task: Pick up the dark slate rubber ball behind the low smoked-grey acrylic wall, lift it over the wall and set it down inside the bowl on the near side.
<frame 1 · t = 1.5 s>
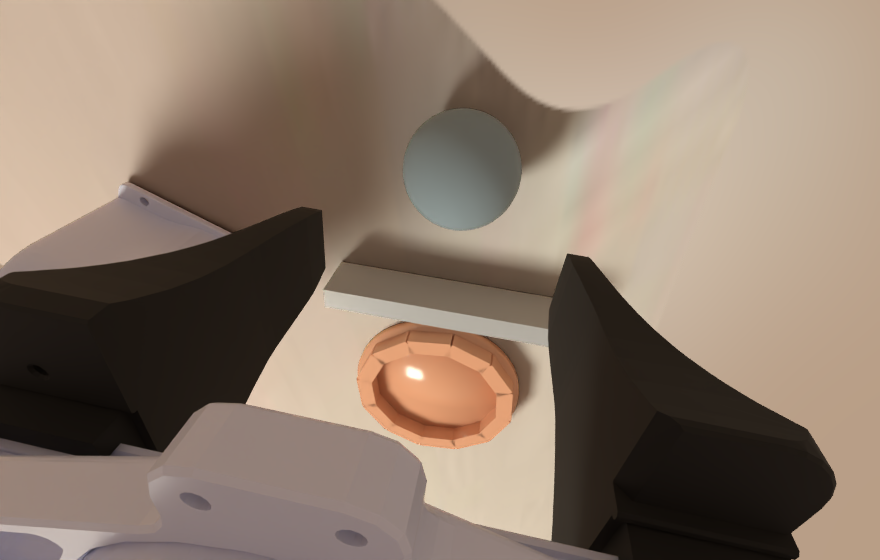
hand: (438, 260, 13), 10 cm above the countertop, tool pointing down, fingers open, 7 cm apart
bowl: (437, 381, 30), on the countertop
acrylic wall: (450, 288, 25), on the countertop
ball: (461, 171, 18), point 2 cm above the countertop
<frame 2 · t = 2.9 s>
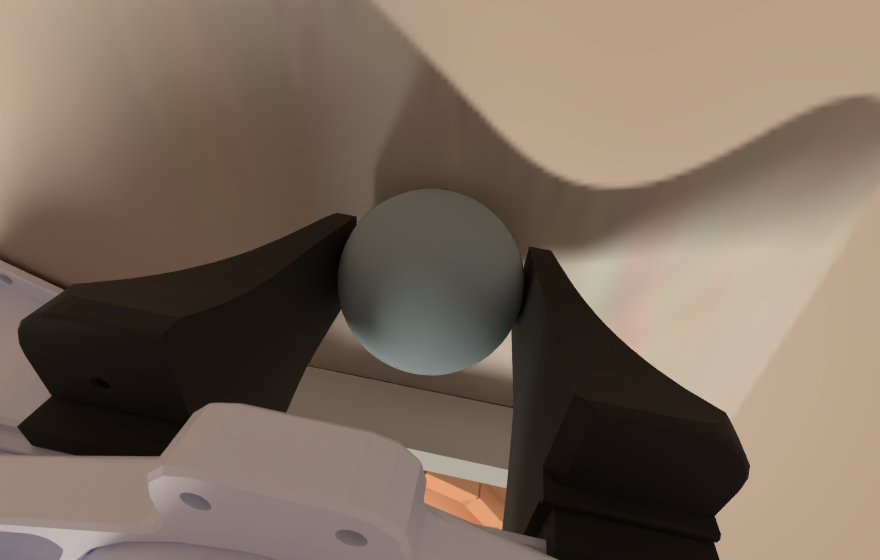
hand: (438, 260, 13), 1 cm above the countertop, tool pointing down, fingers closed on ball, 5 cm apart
bowl: (411, 495, 23), on the countertop
acrylic wall: (424, 399, 19), on the countertop
ball: (431, 281, 12), point 2 cm above the countertop, touching gripper
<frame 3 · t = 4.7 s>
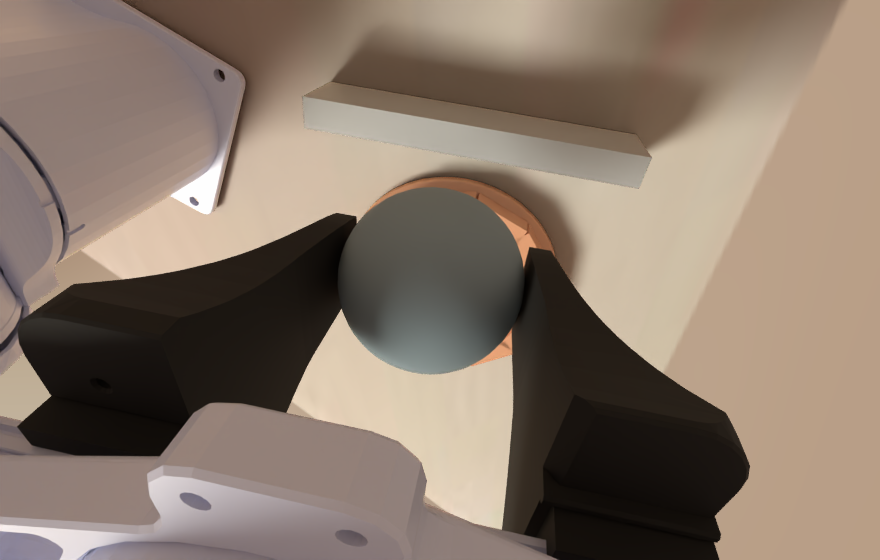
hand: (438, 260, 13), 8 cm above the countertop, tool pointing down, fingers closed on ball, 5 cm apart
bowl: (450, 274, 23), on the countertop
acrylic wall: (477, 122, 18), on the countertop
ball: (431, 280, 12), point 9 cm above the countertop, touching gripper
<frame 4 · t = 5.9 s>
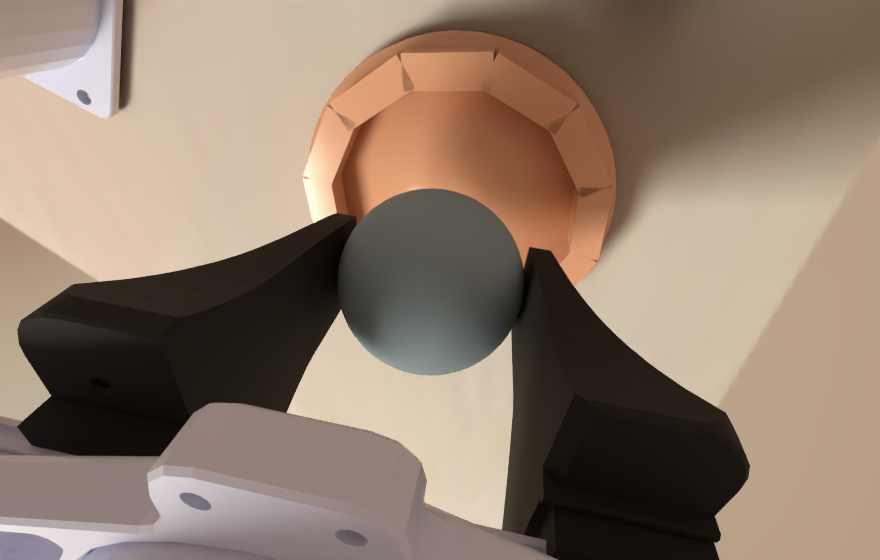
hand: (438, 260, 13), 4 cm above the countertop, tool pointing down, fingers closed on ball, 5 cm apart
bowl: (456, 199, 16), on the countertop
ball: (431, 281, 12), point 5 cm above the countertop, touching gripper
when the fingers open (3 cm above the countertop, at t = 6.7 s): ball stays where it is, resting on bowl.
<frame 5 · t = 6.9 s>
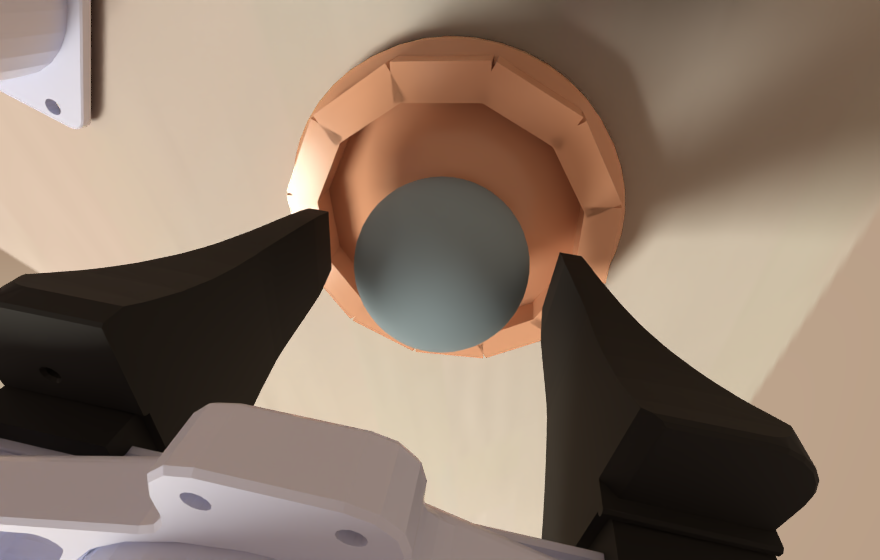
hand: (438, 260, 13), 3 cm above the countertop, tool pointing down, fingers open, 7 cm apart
bowl: (452, 216, 15), on the countertop
ball: (441, 265, 13), point 3 cm above the countertop, touching bowl
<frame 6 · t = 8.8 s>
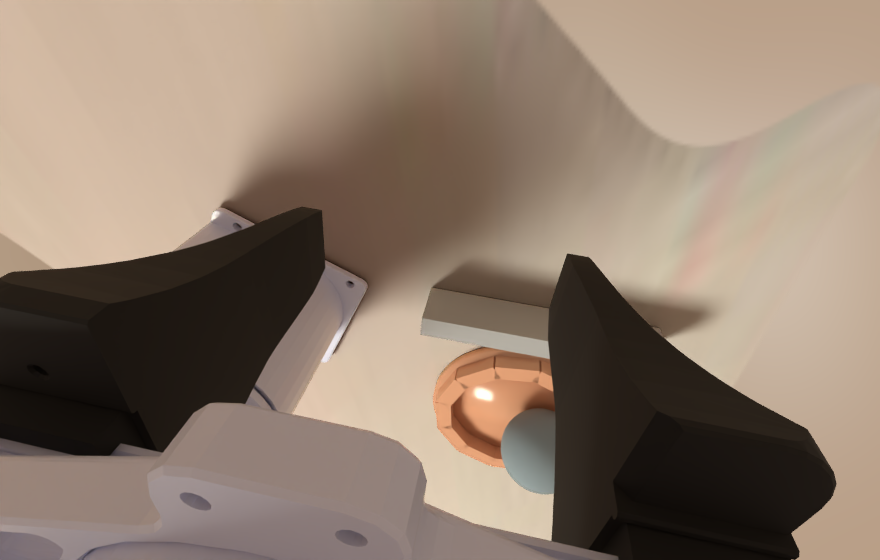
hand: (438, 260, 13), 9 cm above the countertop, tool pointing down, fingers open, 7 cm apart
bowl: (513, 404, 30), on the countertop
acrylic wall: (540, 315, 25), on the countertop
ball: (541, 449, 27), point 3 cm above the countertop, tilted 43°, touching bowl
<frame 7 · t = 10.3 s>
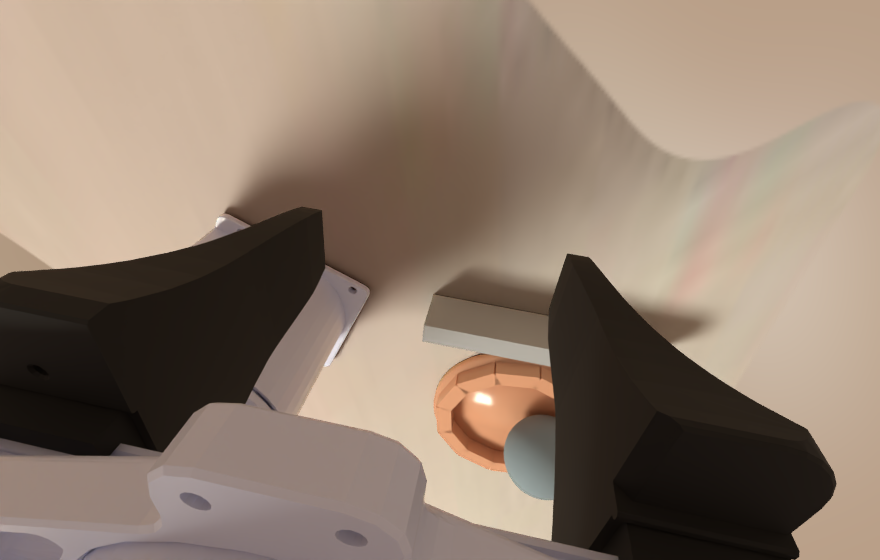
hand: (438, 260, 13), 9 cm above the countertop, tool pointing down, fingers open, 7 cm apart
bowl: (513, 409, 30), on the countertop
acrylic wall: (541, 322, 25), on the countertop
ball: (543, 455, 27), point 3 cm above the countertop, tilted 48°, touching bowl
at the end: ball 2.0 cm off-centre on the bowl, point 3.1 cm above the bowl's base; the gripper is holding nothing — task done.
